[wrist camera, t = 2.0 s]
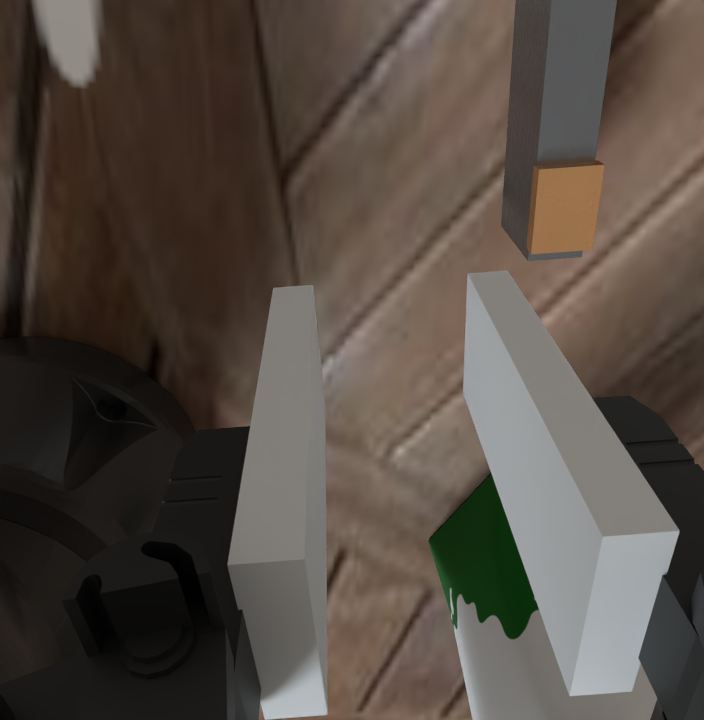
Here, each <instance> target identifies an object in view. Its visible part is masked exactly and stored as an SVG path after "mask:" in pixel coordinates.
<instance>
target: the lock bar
mask: <svg viewBox="0 0 704 720" xmlns="http://www.w3.org/2000/svg"><path fill="white" fill-rule="evenodd" d="M616 4H617V0H516V5H515V21H514V36H513V52H512V67H511V82H510V98H509V113H508V128H507V144H506V159H505V175H504V190H503V205H502V221H501V226H502V227H503V229H504V230H505V231H506V233H507V234H508V235H509V237H510V238H511V239H512V241H513V242H514V243H515V245H516V246H517V247H518V248H519V250H520V251H521V252H522V254H523V255H524V256H525V258H526V259H527V260H528V261H533V260H547V259H560V258H574V257H582V251H583V250H592V248H593V241H594V234H595V227H596V220H597V214H598V207H599V200H600V193H601V186H602V180H603V173H604V166H605V165H604V164H603V163H601V162H599V161H595V156H596V149H597V142H598V135H599V127H600V120H601V113H602V106H603V98H604V91H605V84H606V77H607V69H608V62H609V55H610V48H611V40H612V33H613V26H614V19H615V12H616Z"/></svg>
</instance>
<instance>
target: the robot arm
mask: <svg viewBox="0 0 704 720" xmlns="http://www.w3.org/2000/svg"><path fill="white" fill-rule="evenodd" d="M463 394H464V396H465V399H466V402H467V405H468V408H469V411H470V414H471V416H472V419H473V422H474V425H475V428H476V431H477V434H478V436H479V439H480V442H481V445H482V448H483V451H484V454H485V456H486V459H487V462H488V465H489V468H490V471H491V474H492V476H493V479H494V482H495V485H496V488H497V491H498V494H499V496H500V499H501V502H502V505H503V508H504V511H505V514H506V516H507V519H508V522H509V525H510V528H511V531H512V534H513V536H514V539H515V542H516V545H517V548H518V551H519V554H520V556H521V559H522V562H523V565H524V568H525V571H526V574H527V576H528V579H529V582H530V585H531V588H532V591H533V594H534V596H535V599H536V602H537V605H538V608H539V611H540V614H541V616H542V619H543V622H544V625H545V628H546V631H547V633H548V636H549V639H550V642H551V645H552V648H553V651H554V653H555V656H556V659H557V662H558V665H559V668H560V671H561V673H562V676H563V679H564V682H565V685H566V688H567V691H568V693H569V696H580V695H593V694H606V693H619V692H632V689H633V686H634V683H635V679H636V676H637V673H638V669H639V666H640V663H641V665H642V667H643V669H644V671H645V673H646V675H647V677H648V680H649V682H650V684H651V686H652V688H653V690H654V692H655V694H656V696H657V701H656V704H655V707H654V710H653V713H652V716H651V719H650V720H704V471H703V470H702V468H701V467H700V466H699V465H698V464H695V463H694V458H693V457H692V456H691V455H690V453H689V452H688V451H687V449H686V448H685V447H684V446H683V444H679V443H678V438H677V437H676V436H675V434H674V433H673V432H672V431H671V429H670V428H669V427H668V426H667V424H666V423H665V422H664V420H663V419H662V418H661V417H660V415H658V414H657V413H655V412H654V411H652V410H651V409H649V408H648V407H646V406H644V405H643V404H641V403H640V402H638V401H637V400H635V399H634V398H632V397H631V396H619V397H606V398H593V399H592V397H591V396H590V394H589V393H588V391H587V390H586V388H585V387H584V385H583V384H582V382H581V381H580V379H579V378H578V376H577V375H576V373H575V372H574V370H573V369H572V367H571V366H570V364H569V363H568V361H567V360H566V358H565V357H564V355H563V354H562V352H561V351H560V349H559V348H558V346H557V345H556V343H555V342H554V340H553V339H552V337H551V335H550V334H549V332H548V331H547V329H546V328H545V326H544V325H543V323H542V322H541V320H540V319H539V317H538V316H537V314H536V313H535V311H534V310H533V308H532V307H531V305H530V304H529V302H528V301H527V299H526V298H525V296H524V295H523V293H522V292H521V290H520V289H519V287H518V286H517V284H516V283H515V281H514V280H513V278H512V277H511V275H510V273H509V272H508V270H507V271H493V272H480V273H468V277H467V303H466V330H465V356H464V383H463ZM260 702H261V706H262V710H263V714H264V718H265V719H278V718H292V717H305V716H318V715H327V573H326V431H325V395H324V385H323V376H322V366H321V356H320V346H319V337H318V327H317V317H316V308H315V298H314V288H313V285H304V286H290V287H277V288H273V292H272V298H271V304H270V310H269V316H268V322H267V328H266V334H265V340H264V346H263V353H262V359H261V365H260V371H259V377H258V383H257V389H256V395H255V401H254V407H253V413H252V419H251V425H250V426H248V427H234V428H221V429H208V430H198V431H197V432H196V433H195V431H194V429H193V427H192V425H191V423H190V421H189V419H188V418H187V416H186V414H185V413H184V412H183V410H182V409H181V407H180V406H179V405H178V404H177V402H176V401H175V400H174V399H173V398H172V397H171V396H170V395H169V393H168V392H167V391H166V390H164V389H163V388H162V387H161V386H160V385H159V384H158V383H157V382H155V381H154V380H153V379H152V378H150V377H149V376H148V375H146V374H145V373H143V372H142V371H141V370H139V369H137V368H136V367H134V366H133V365H131V364H129V363H127V362H125V361H123V360H122V359H120V358H117V357H115V356H113V355H111V354H109V353H106V352H104V351H101V350H99V349H96V348H93V347H90V346H87V345H83V344H79V343H75V342H71V341H66V340H60V339H53V338H43V337H15V338H6V339H0V720H259V708H260Z"/></svg>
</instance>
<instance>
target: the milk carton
mask: <svg viewBox="0 0 704 720" xmlns="http://www.w3.org/2000/svg"><path fill="white" fill-rule="evenodd" d="M429 544H430V547H431V551H432V554H433V557H434V560H435V564H436V567H437V570H438V573H439V577H440V580H441V583H442V586H443V590H444V593H445V596H446V599H447V603H448V606H449V609H450V613H451V617H452V622H453V627H454V631H455V636H456V641H457V646H458V651H459V656H460V660H461V665H462V670H463V675H464V680H465V685H466V689H467V694H468V699H469V704H470V709H471V714H472V719H473V720H650V719H651V716H652V713H653V710H654V707H655V704H656V701H657V696H656V694H655V692H654V690H653V688H652V686H651V684H650V682H649V680H648V677H647V675H646V673H645V671H644V669H643V667H642V665H641V663H640V666H639V669H638V673H637V676H636V679H635V683H634V686H633V689H632V692H619V693H606V694H593V695H580V696H569V693H568V691H567V688H566V685H565V682H564V679H563V676H562V673H561V671H560V668H559V665H558V662H557V659H556V656H555V653H554V651H553V648H552V645H551V642H550V639H549V636H548V633H547V631H546V628H545V625H544V622H543V619H542V616H541V614H540V611H539V608H538V605H537V602H536V599H535V596H534V594H533V591H532V588H531V585H530V582H529V579H528V576H527V574H526V571H525V568H524V565H523V562H522V559H521V556H520V554H519V551H518V548H517V545H516V542H515V539H514V536H513V534H512V531H511V528H510V525H509V522H508V519H507V516H506V514H505V511H504V508H503V505H502V502H501V499H500V496H499V494H498V491H497V488H496V485H495V482H494V479H493V476H492V474H490V475H489V477H488V478H487V479H486V480H485V481H484V482H483V483H482V484H481V485H480V486H479V487H478V488H477V489H476V490H475V492H474V493H473V494H472V495H471V496H470V497H469V498H468V499H467V500H466V501H465V502H464V503H463V504H462V505H461V506H460V508H459V509H458V510H457V511H456V512H455V513H454V514H453V515H452V516H451V517H450V518H449V519H448V520H447V521H446V523H445V524H444V525H443V526H442V527H441V528H440V529H439V530H438V531H437V532H436V533H435V534H434V535H433V536H432V538H431V539H430V540H429Z"/></svg>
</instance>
